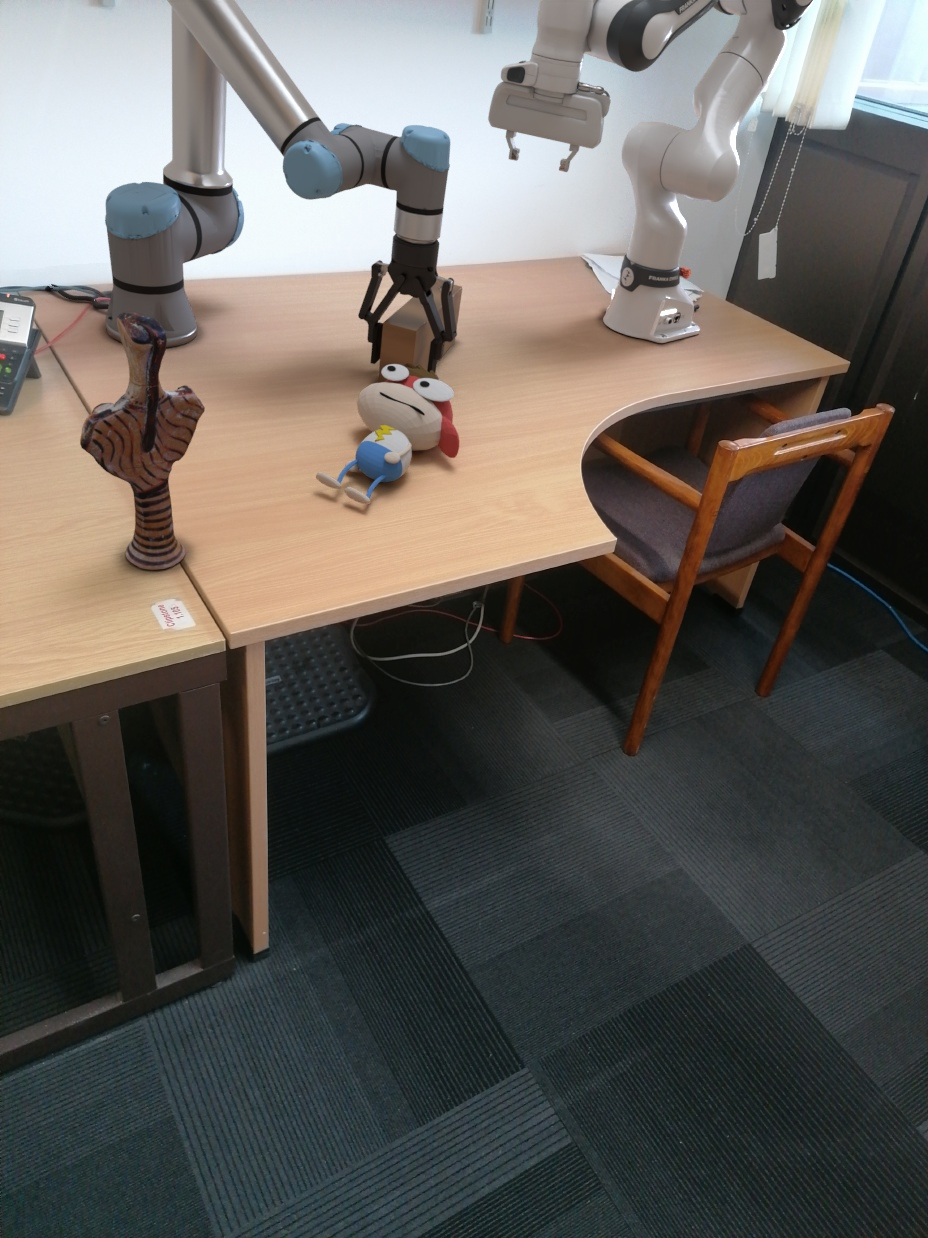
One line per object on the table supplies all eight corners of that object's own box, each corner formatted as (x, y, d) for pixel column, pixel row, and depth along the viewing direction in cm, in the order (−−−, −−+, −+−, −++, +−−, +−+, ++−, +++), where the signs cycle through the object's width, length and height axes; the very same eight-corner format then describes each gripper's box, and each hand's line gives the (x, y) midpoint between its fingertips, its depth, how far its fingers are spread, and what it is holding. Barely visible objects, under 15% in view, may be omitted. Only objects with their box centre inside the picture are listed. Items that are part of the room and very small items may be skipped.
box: (409, 392, 154) (416, 330, 147) (377, 383, 155) (383, 322, 148) (454, 342, 174) (462, 286, 167) (426, 334, 175) (433, 278, 168)
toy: (278, 428, 121) (396, 343, 140) (277, 485, 128) (389, 398, 148) (391, 486, 117) (497, 391, 136) (384, 542, 124) (485, 444, 143)
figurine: (185, 519, 115) (170, 285, 96) (226, 544, 112) (219, 308, 93) (85, 564, 105) (47, 314, 86) (127, 593, 102) (97, 341, 83)
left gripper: (489, 246, 144) (469, 376, 157) (360, 215, 147) (352, 345, 161) (476, 258, 138) (456, 392, 152) (342, 225, 141) (335, 359, 155)
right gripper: (616, 86, 152) (597, 174, 160) (502, 63, 155) (489, 150, 163) (610, 90, 147) (591, 180, 156) (492, 66, 150) (480, 155, 159)
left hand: (402, 368), depth 156 cm, fingers open, 10 cm apart
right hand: (538, 164), depth 160 cm, fingers open, 8 cm apart
